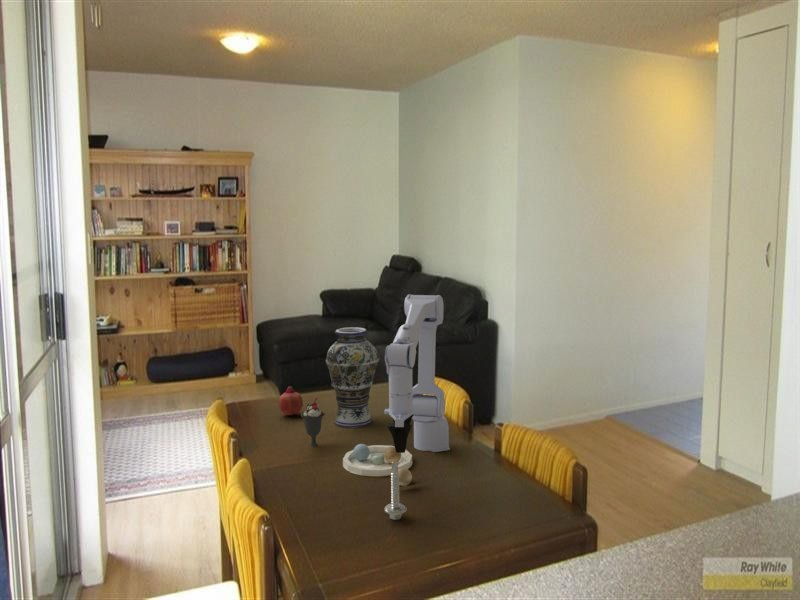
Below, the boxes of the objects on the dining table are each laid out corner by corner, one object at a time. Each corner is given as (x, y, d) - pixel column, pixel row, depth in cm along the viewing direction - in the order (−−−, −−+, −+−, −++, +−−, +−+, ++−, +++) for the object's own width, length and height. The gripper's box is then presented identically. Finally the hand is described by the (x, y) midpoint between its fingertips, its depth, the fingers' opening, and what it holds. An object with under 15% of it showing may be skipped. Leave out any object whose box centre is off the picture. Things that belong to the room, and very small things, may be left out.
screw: (410, 519, 144) (389, 524, 143) (401, 510, 149) (381, 515, 147) (409, 462, 143) (388, 466, 141) (400, 455, 147) (380, 458, 145)
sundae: (321, 452, 186) (320, 400, 184) (298, 451, 187) (297, 399, 185) (328, 444, 192) (327, 394, 190) (306, 443, 194) (305, 393, 192)
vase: (390, 418, 216) (388, 327, 212) (359, 433, 201) (357, 336, 197) (349, 411, 225) (347, 323, 221) (316, 425, 210) (313, 331, 206)
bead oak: (391, 460, 178) (385, 445, 178) (405, 457, 176) (400, 442, 176) (385, 468, 174) (379, 452, 174) (399, 465, 172) (393, 449, 172)
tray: (396, 449, 188) (396, 440, 187) (423, 472, 171) (423, 462, 171) (334, 459, 181) (334, 449, 181) (355, 483, 164) (355, 473, 164)
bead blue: (366, 456, 180) (366, 440, 180) (372, 461, 176) (371, 445, 176) (351, 458, 179) (350, 442, 178) (356, 464, 175) (356, 448, 174)
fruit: (274, 418, 218) (273, 388, 216) (285, 411, 225) (284, 382, 224) (296, 420, 215) (295, 390, 214) (307, 413, 223) (306, 384, 222)
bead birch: (407, 481, 165) (407, 464, 165) (414, 487, 161) (414, 470, 161) (391, 484, 164) (391, 466, 163) (398, 490, 160) (397, 473, 159)
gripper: (386, 384, 168) (387, 436, 170) (381, 400, 154) (382, 457, 155) (414, 385, 168) (414, 437, 169) (412, 400, 153) (412, 457, 155)
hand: (401, 446), depth 162 cm, fingers open, 7 cm apart
